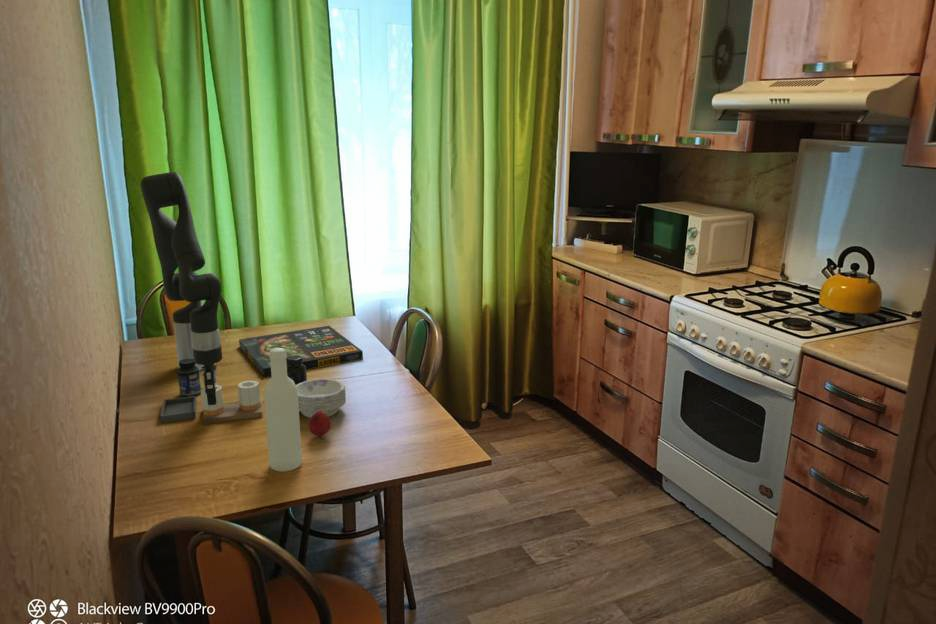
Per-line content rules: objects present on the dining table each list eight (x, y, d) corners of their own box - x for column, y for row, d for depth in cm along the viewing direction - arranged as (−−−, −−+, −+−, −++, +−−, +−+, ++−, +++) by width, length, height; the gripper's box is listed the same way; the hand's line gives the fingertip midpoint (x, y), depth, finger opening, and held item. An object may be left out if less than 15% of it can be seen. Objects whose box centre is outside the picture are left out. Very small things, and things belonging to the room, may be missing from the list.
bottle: (305, 456, 168) (298, 344, 159) (299, 472, 160) (290, 355, 152) (273, 456, 167) (264, 344, 159) (265, 472, 160) (255, 355, 151)
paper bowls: (327, 397, 203) (326, 373, 201) (356, 412, 193) (355, 387, 191) (283, 411, 193) (281, 386, 191) (311, 428, 183) (309, 402, 180)
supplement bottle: (312, 393, 206) (310, 357, 203) (293, 400, 201) (290, 363, 198) (299, 387, 210) (297, 352, 207) (281, 393, 206) (278, 357, 202)
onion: (320, 444, 174) (319, 416, 172) (304, 438, 177) (303, 411, 175) (335, 435, 179) (334, 408, 177) (320, 430, 182) (318, 403, 179)
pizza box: (329, 334, 265) (329, 325, 264) (362, 360, 236) (362, 351, 235) (239, 348, 248) (238, 339, 247) (264, 378, 219) (263, 368, 218)
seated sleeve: (237, 406, 193) (235, 383, 191) (255, 401, 196) (253, 379, 194) (245, 412, 189) (243, 389, 187) (263, 406, 192) (261, 384, 191)
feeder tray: (164, 406, 196) (163, 399, 195) (196, 402, 199) (196, 395, 198) (161, 422, 185) (160, 416, 185) (195, 418, 188) (194, 412, 188)
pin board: (203, 410, 193) (201, 389, 191) (260, 403, 199) (258, 383, 197) (202, 424, 184) (200, 403, 182) (262, 416, 190) (260, 395, 188)
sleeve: (203, 408, 191) (201, 386, 189) (223, 406, 193) (221, 383, 191) (203, 416, 186) (200, 393, 184) (223, 413, 188) (221, 390, 186)
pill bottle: (193, 399, 201) (189, 365, 198) (175, 397, 202) (171, 363, 199) (205, 391, 207) (201, 358, 204) (187, 389, 208) (184, 356, 205)
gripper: (193, 338, 189) (199, 391, 193) (191, 354, 176) (197, 410, 181) (221, 336, 191) (226, 387, 196) (221, 351, 179) (226, 406, 183)
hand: (212, 398), depth 188 cm, fingers open, 8 cm apart
